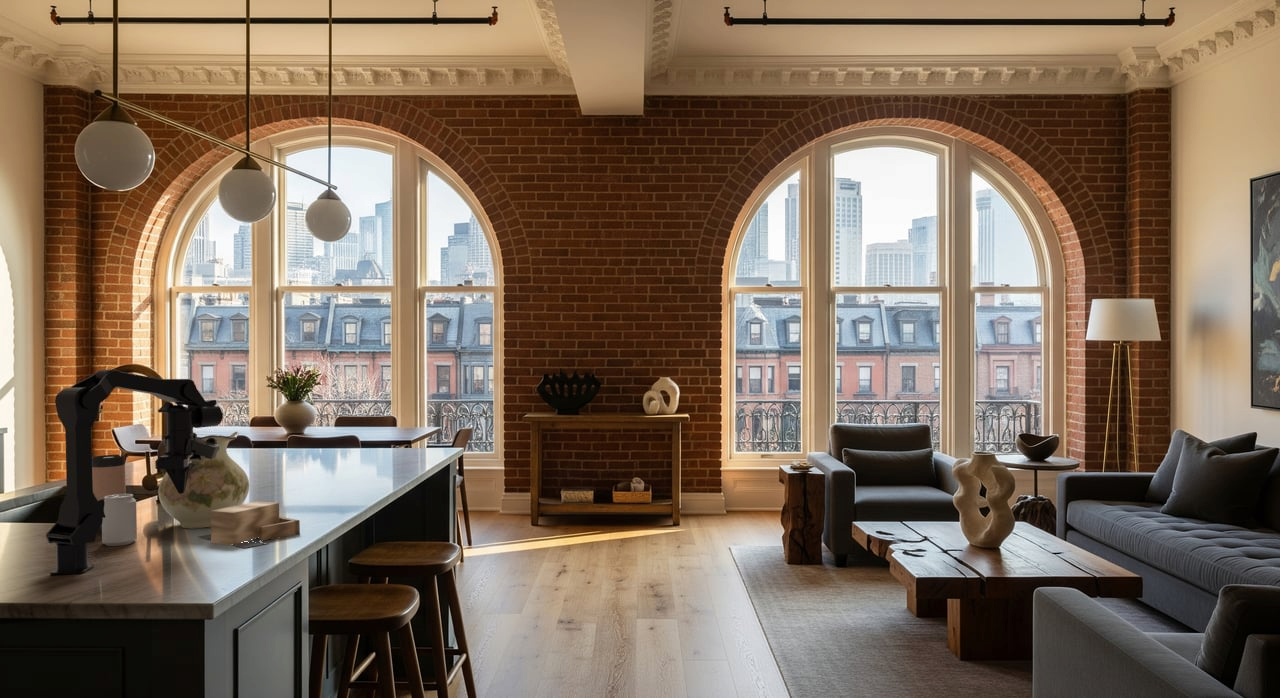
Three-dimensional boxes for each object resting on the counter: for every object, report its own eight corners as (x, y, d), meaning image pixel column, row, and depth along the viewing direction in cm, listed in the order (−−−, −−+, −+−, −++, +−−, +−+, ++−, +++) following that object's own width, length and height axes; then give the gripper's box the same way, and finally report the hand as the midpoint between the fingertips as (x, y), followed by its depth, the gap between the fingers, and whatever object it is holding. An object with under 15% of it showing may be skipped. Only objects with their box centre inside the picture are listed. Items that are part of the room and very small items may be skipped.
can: (121, 547, 214) (120, 498, 214) (94, 546, 216) (93, 497, 216) (144, 540, 221) (143, 492, 221) (118, 539, 223) (117, 492, 223)
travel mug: (88, 535, 229) (87, 458, 229) (98, 529, 236) (96, 455, 236) (121, 533, 231) (120, 457, 231) (130, 527, 238) (128, 453, 238)
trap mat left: (209, 540, 220) (209, 539, 220) (197, 537, 224) (197, 536, 224) (232, 535, 225) (232, 534, 225) (221, 532, 229) (221, 532, 229)
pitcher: (248, 527, 235) (245, 433, 235) (148, 536, 226) (145, 439, 226) (251, 513, 256) (249, 428, 256) (160, 522, 247) (157, 433, 247)
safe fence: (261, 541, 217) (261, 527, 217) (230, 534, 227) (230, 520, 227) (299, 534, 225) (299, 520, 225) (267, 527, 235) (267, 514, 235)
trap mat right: (244, 548, 210) (244, 547, 210) (231, 545, 213) (231, 544, 213) (268, 543, 214) (268, 542, 214) (255, 540, 218) (255, 540, 218)
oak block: (234, 545, 214) (233, 512, 214) (211, 543, 218) (210, 510, 217) (279, 533, 227) (279, 502, 227) (257, 531, 230) (256, 501, 230)
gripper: (205, 432, 208) (206, 497, 209) (224, 425, 227) (226, 485, 227) (153, 434, 206) (155, 500, 206) (177, 427, 224) (179, 488, 224)
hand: (181, 493), depth 216 cm, fingers closed
